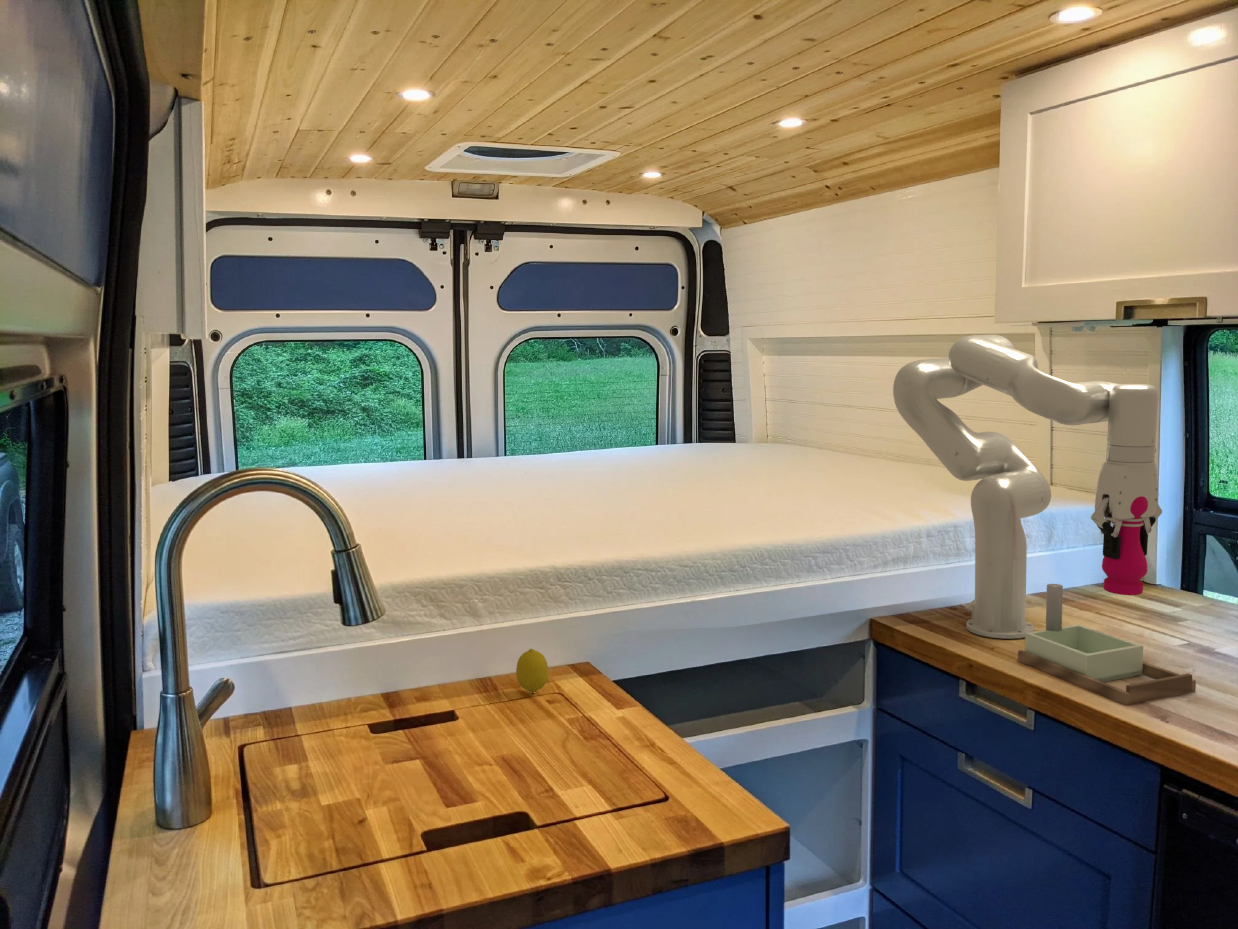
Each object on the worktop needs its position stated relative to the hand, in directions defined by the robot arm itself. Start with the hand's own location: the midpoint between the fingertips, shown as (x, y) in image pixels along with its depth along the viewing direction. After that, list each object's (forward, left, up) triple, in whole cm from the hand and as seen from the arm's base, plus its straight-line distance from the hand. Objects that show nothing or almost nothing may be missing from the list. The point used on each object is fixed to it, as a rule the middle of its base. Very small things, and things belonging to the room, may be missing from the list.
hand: (1124, 554), depth 172 cm
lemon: (-28, -102, -19) cm, 108 cm away
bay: (+7, -12, -19) cm, 24 cm away
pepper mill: (0, 0, -7) cm, 7 cm away
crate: (+3, -12, -18) cm, 22 cm away
